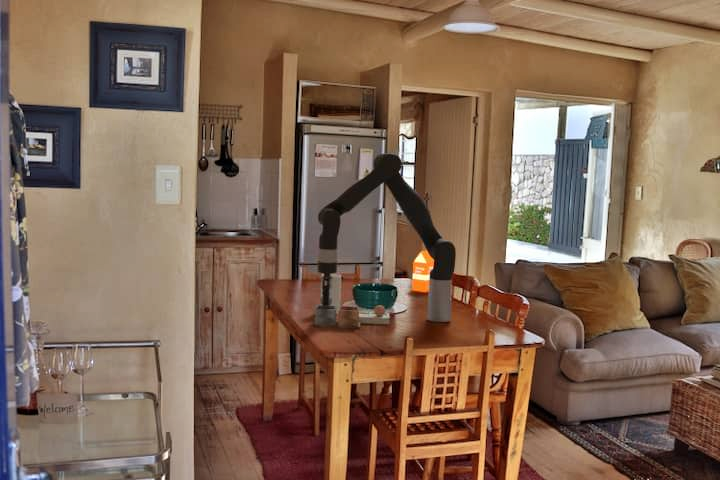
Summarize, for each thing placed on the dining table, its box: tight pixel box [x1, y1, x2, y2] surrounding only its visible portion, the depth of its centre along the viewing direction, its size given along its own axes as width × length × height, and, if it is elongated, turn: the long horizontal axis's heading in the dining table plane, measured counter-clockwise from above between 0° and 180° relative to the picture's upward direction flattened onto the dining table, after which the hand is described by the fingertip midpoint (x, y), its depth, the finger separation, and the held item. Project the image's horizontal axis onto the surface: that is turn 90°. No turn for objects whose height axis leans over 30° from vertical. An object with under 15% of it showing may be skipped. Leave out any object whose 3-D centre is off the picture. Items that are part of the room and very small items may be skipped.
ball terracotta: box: [373, 304, 386, 317], centre depth 278 cm, size 4×4×4 cm
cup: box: [320, 273, 342, 315], centre depth 290 cm, size 8×8×16 cm
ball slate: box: [320, 296, 332, 307], centre depth 268 cm, size 4×4×4 cm
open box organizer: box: [312, 304, 361, 330], centre depth 269 cm, size 18×9×7 cm, turn 89°
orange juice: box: [411, 250, 434, 293], centre depth 348 cm, size 8×9×20 cm
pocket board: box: [359, 311, 390, 325], centre depth 278 cm, size 15×10×2 cm, turn 89°
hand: (326, 303), depth 268 cm, fingers open, 5 cm apart
